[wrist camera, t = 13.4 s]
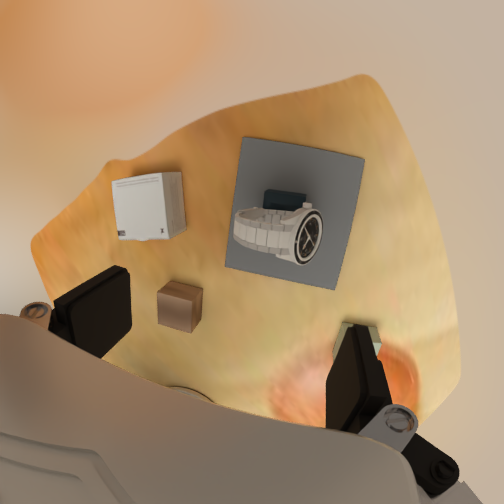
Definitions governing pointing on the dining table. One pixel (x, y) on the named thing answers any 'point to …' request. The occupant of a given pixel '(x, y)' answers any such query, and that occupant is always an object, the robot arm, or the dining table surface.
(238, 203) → the slate mat
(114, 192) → the small box
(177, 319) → the walnut block
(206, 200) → the dining table surface
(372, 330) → the sage block
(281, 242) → the watch
